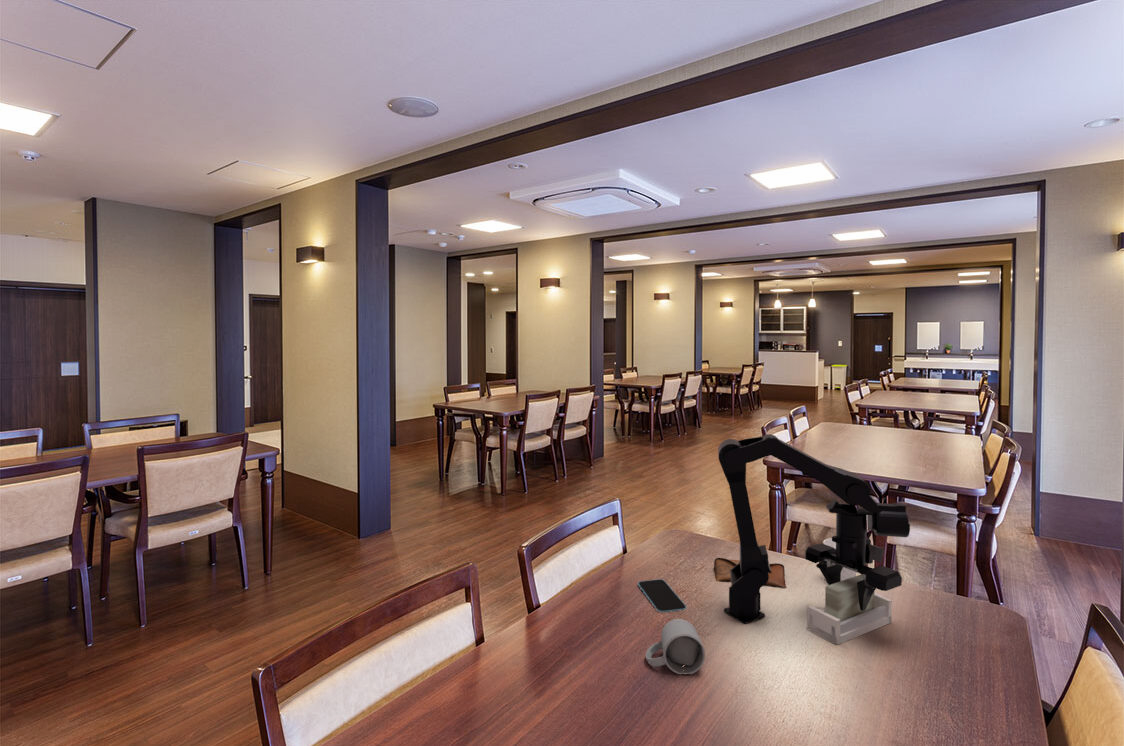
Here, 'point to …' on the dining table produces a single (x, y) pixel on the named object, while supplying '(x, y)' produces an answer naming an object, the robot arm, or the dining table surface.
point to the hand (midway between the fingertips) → (849, 604)
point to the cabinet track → (849, 621)
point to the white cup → (845, 572)
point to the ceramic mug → (678, 648)
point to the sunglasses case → (725, 565)
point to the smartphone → (661, 595)
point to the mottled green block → (845, 599)
